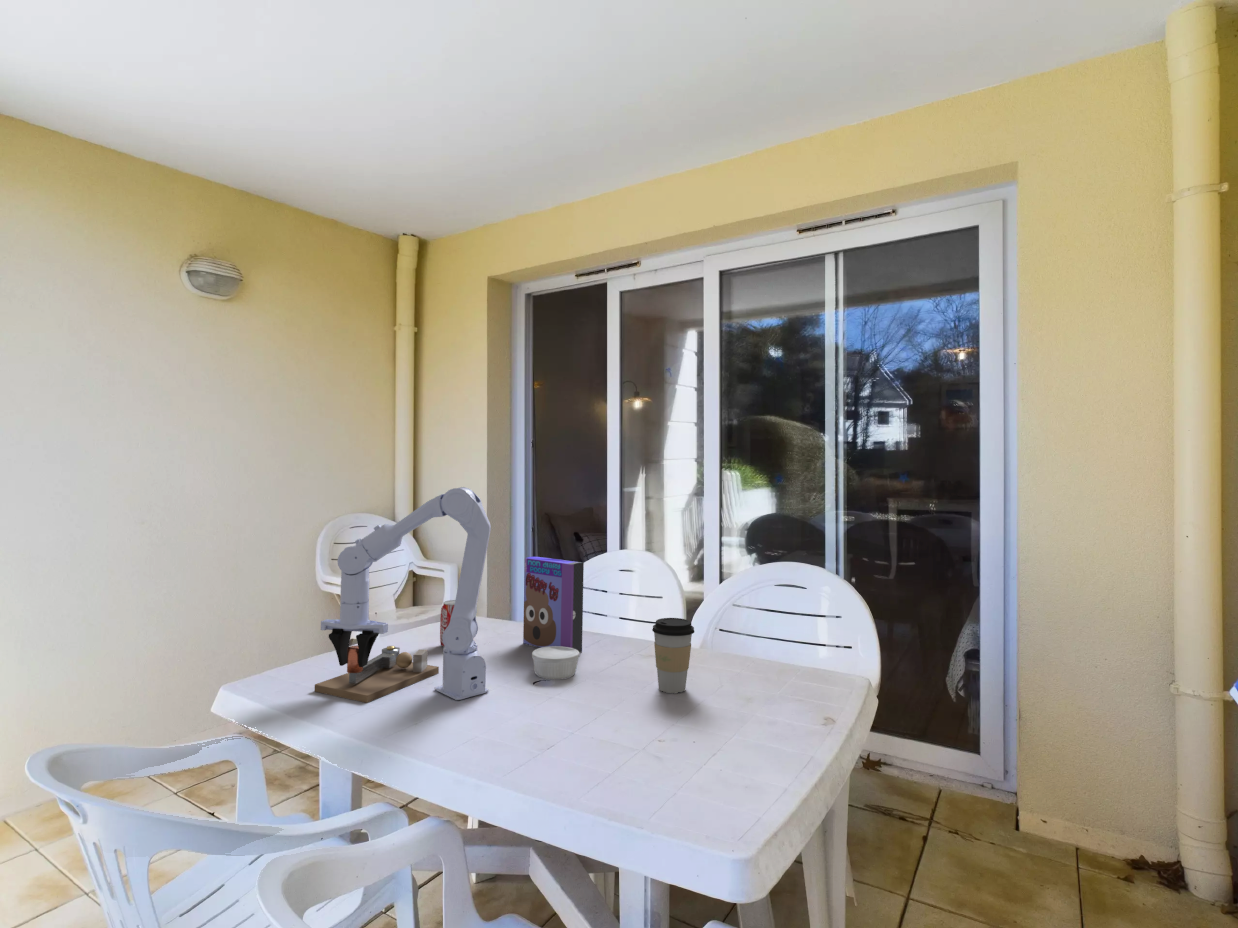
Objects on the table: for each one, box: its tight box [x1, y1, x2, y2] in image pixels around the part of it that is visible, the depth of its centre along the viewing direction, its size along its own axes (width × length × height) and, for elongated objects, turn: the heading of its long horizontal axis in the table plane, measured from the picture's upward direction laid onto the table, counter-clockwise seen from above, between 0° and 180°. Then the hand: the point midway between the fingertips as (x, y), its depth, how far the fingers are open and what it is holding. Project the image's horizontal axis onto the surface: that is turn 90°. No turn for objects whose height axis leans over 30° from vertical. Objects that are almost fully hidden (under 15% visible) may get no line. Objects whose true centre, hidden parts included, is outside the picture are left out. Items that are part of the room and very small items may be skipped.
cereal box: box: [522, 556, 585, 654], centre depth 176 cm, size 17×5×24 cm, turn 53°
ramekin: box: [531, 646, 580, 681], centre depth 153 cm, size 11×11×5 cm
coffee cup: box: [651, 617, 695, 694], centre depth 144 cm, size 9×9×15 cm
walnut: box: [396, 651, 413, 668], centre depth 150 cm, size 4×4×4 cm
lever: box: [346, 644, 401, 684], centre depth 146 cm, size 20×4×8 cm, turn 173°
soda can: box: [439, 599, 456, 648], centre depth 175 cm, size 7×7×12 cm
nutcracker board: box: [314, 649, 440, 704], centre depth 145 cm, size 22×15×6 cm
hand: (353, 664), depth 138 cm, fingers open, 4 cm apart
